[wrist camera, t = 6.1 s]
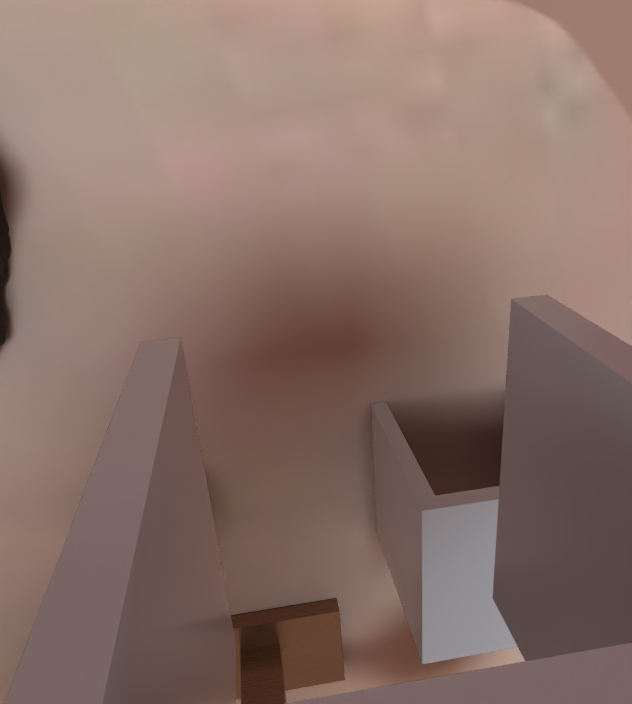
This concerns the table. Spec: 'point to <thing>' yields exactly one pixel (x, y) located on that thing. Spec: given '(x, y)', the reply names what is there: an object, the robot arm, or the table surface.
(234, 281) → the table surface
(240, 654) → the balance
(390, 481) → the cover
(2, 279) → the rock
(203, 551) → the cover
